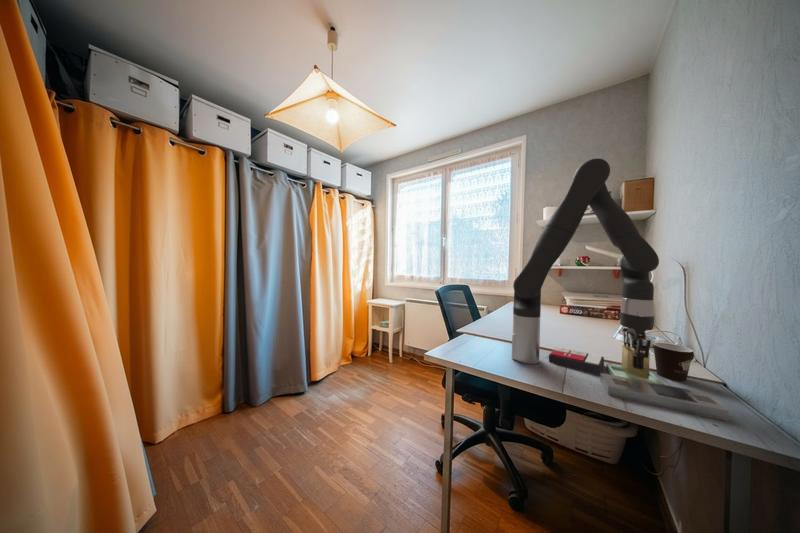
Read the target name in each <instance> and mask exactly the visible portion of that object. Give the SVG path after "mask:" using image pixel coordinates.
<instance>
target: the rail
mask: <svg viewBox="0 0 800 533" xmlns="http://www.w3.org/2000/svg"><path fill="white" fill-rule="evenodd" d="M599 382H600V384H601V385H602V387H603V388H604V390H605V392H606V393H607V395H608V396H612V397H617V398H622V399H627V400H630V401H635V402H639V403H644V404H648V405H652V406H658V407H662V408H667V409H671V410H674V411H675V410H676V411H681V412H684V413H689V414H692V415H693V414H694V415H699V416H702V417H708V418H712V419H717V420H720V421H721V420H722V421H725V422H729V416H730V414H729V413H730V411H729V410H728V409H727V408H725V407H724V406H723V405H721V404H720V403H719V402H718V401H716V400H714V399H713V398H712V397H711V396H710V395H708V394H707V393H705V392H704V391H699V390H698V391H697V390H693V389H688V388H683V387H676V386H671V385H666V384H665V385H662V384H657V383H651V382H646V381H641V380H635V379H630V378H625V377H619V376H614V375H611V374H610V373H609V374H608V373H603V372H602V373H600V376H599Z"/></svg>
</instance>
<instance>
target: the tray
mask: <svg viewBox="0 0 800 533" xmlns="http://www.w3.org/2000/svg"><path fill="white" fill-rule="evenodd" d="M606 370H607V372H608V373H609V375H614V376H619V377H625V378H630V379H635V380H641V381H646V382H651V383H657V384H662V385H666V384H665V383H663V382H662V380H660V379H659V378H658V377H657V376H656V375H655V374H654V373H653V372H652V371H649V379H645V378H639V377H634V376H629V375H626V374H625V372H624V371H623V370H622V369H621V366H618V365H613V364H606Z"/></svg>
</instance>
